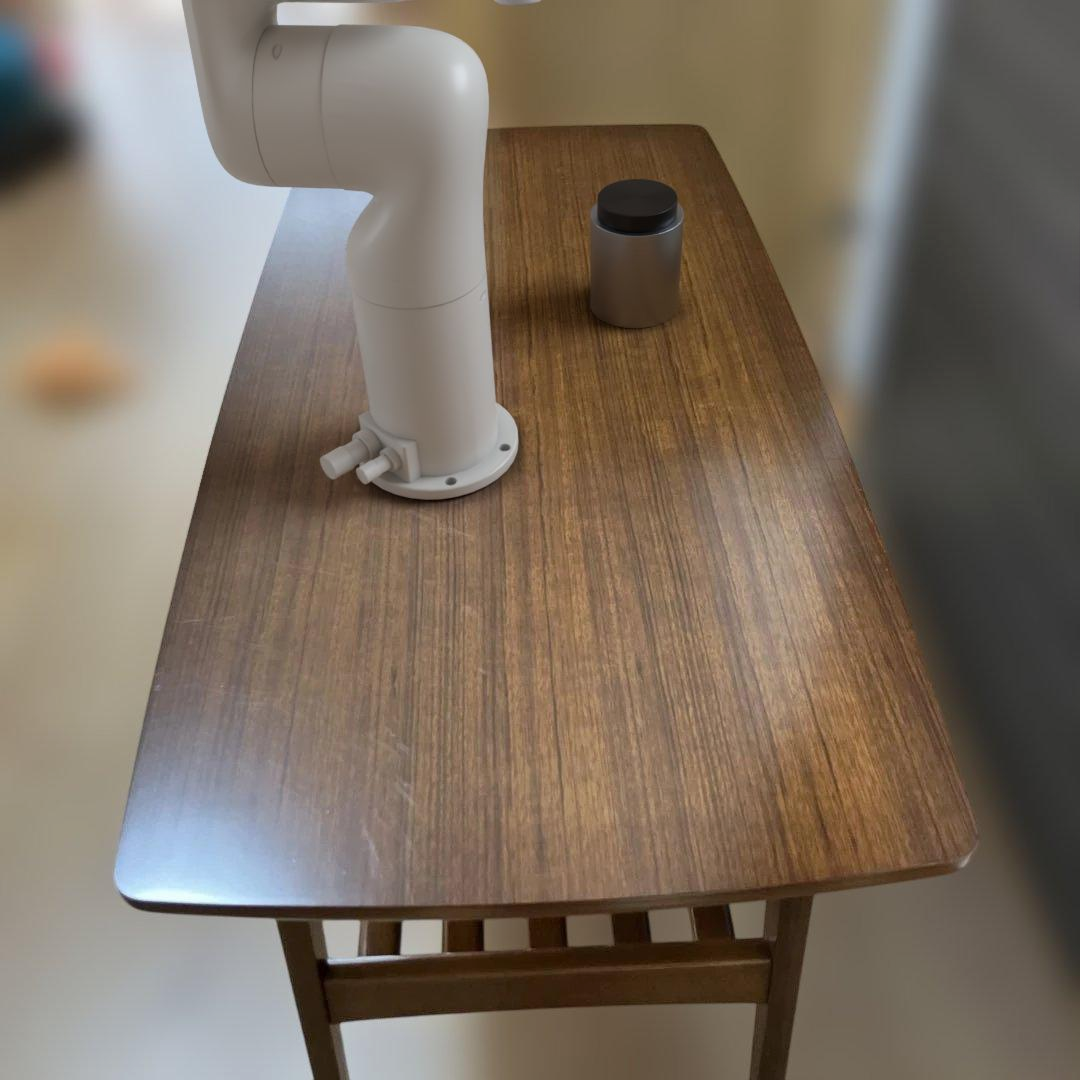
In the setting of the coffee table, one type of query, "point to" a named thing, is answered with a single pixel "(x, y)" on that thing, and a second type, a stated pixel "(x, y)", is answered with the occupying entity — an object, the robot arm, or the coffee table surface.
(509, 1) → the supplement bottle
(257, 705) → the coffee table surface
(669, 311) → the canister
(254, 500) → the coffee table surface
